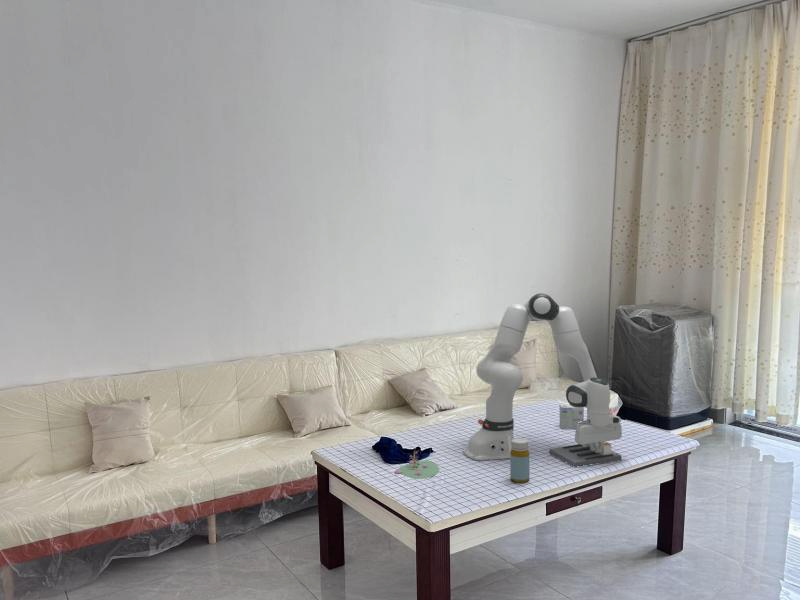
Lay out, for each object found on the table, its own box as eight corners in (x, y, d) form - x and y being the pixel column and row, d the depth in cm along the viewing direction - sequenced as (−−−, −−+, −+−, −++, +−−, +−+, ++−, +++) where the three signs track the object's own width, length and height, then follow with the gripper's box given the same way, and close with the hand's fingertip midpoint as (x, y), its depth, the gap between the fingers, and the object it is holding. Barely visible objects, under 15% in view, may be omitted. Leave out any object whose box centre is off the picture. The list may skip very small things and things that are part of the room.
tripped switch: (603, 455, 254) (603, 445, 253) (599, 453, 257) (599, 443, 256) (611, 454, 255) (611, 444, 255) (606, 452, 258) (606, 442, 257)
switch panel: (574, 467, 247) (574, 451, 247) (549, 453, 264) (549, 438, 264) (621, 460, 254) (621, 444, 254) (593, 446, 271) (593, 432, 271)
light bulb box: (581, 425, 303) (581, 403, 302) (584, 429, 296) (584, 407, 295) (558, 425, 304) (559, 403, 303) (561, 429, 297) (561, 406, 296)
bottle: (506, 479, 236) (506, 440, 235) (517, 474, 241) (517, 436, 239) (522, 484, 231) (522, 444, 230) (533, 479, 236) (533, 440, 234)
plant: (393, 488, 232) (392, 464, 231) (367, 471, 249) (366, 449, 249) (449, 474, 244) (448, 451, 244) (420, 459, 262) (420, 438, 261)
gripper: (580, 423, 247) (580, 458, 248) (624, 417, 253) (624, 451, 255) (571, 419, 253) (571, 453, 254) (614, 414, 259) (614, 446, 261)
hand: (598, 452), depth 254 cm, fingers closed
